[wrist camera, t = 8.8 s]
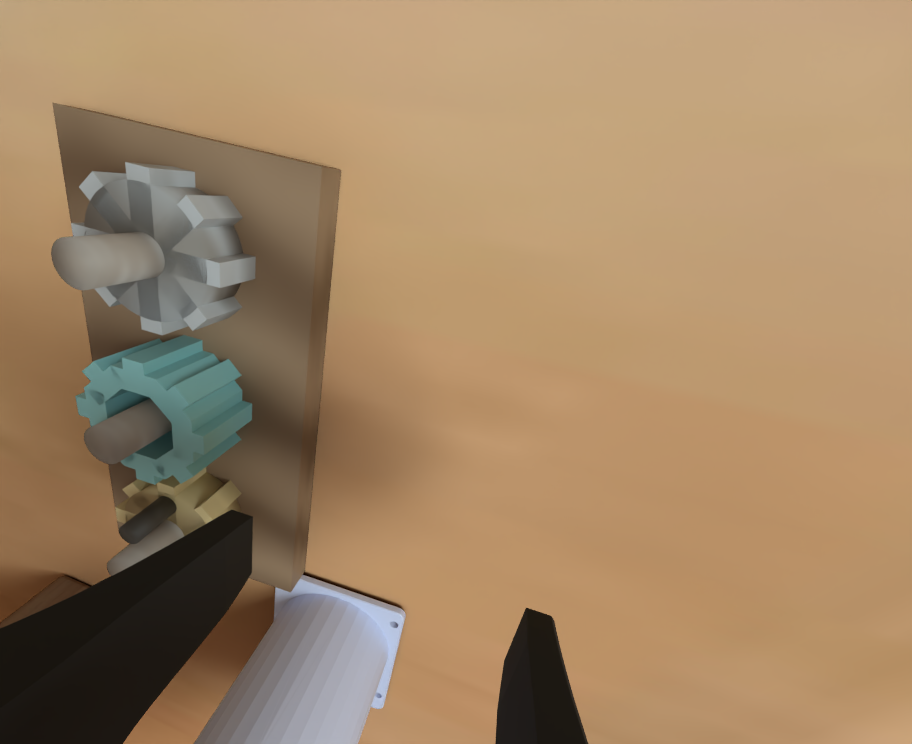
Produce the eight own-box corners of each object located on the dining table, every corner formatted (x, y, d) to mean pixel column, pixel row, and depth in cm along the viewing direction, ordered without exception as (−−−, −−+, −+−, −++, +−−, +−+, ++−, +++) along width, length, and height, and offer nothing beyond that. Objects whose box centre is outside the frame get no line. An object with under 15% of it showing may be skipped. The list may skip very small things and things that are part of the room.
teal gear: (251, 462, 21) (206, 501, 18) (146, 428, 21) (87, 462, 18) (253, 354, 18) (201, 381, 16) (135, 320, 19) (65, 340, 16)
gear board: (304, 571, 25) (236, 674, 20) (141, 515, 26) (34, 597, 21) (341, 169, 16) (235, 152, 11) (91, 110, 17) (-120, 67, 12)
